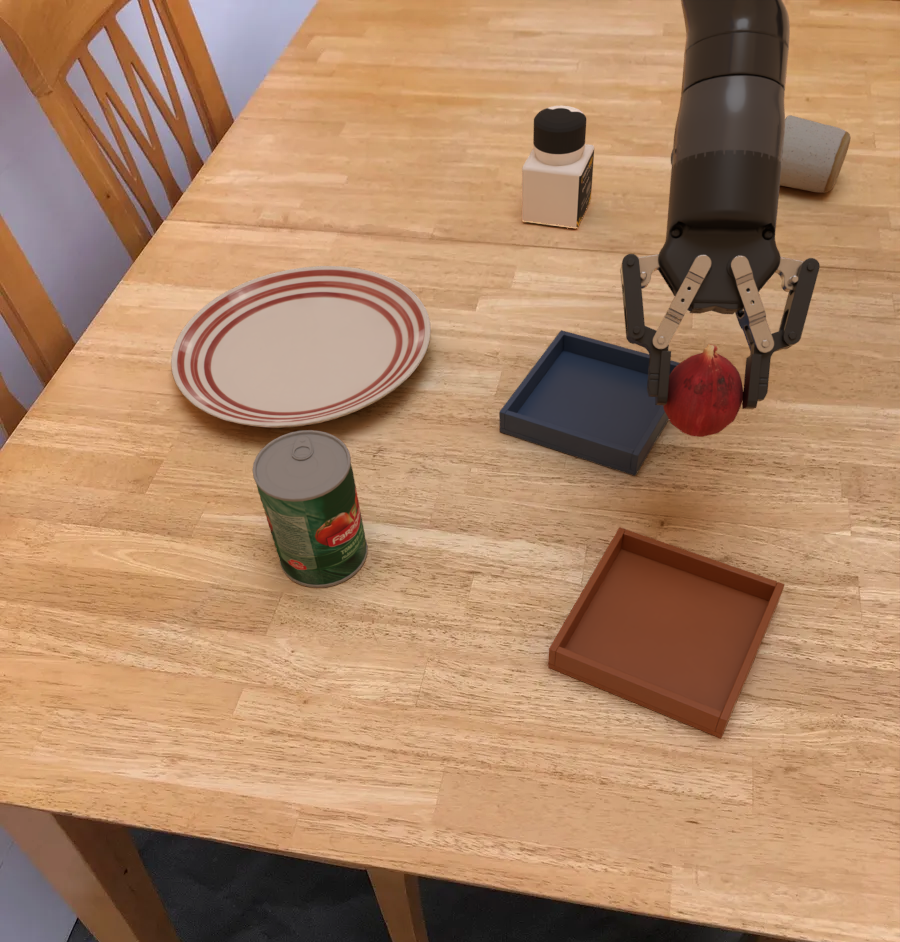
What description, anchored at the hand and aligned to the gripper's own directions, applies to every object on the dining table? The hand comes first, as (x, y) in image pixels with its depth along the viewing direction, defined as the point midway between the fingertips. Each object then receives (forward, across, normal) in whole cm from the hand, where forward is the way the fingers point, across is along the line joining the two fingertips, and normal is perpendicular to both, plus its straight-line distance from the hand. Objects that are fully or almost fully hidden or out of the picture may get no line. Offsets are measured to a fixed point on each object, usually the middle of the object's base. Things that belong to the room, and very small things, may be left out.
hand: (705, 405), depth 68 cm
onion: (+2, 0, +4) cm, 5 cm away
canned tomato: (+14, -31, +10) cm, 35 cm away
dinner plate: (-5, -38, +28) cm, 48 cm away
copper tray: (+18, -1, +5) cm, 19 cm away
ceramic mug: (-33, +17, +56) cm, 67 cm away
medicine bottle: (-27, -13, +50) cm, 59 cm away
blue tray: (-1, -7, +24) cm, 25 cm away
